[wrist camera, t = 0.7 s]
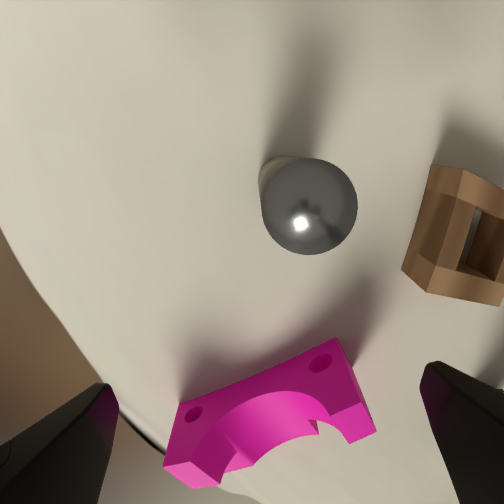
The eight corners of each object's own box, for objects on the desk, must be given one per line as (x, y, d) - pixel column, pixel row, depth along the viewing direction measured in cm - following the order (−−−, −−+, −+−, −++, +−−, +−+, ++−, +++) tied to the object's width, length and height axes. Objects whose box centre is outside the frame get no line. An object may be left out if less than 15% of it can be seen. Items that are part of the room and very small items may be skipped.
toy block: (217, 440, 27) (210, 501, 20) (179, 402, 26) (162, 467, 19) (360, 384, 25) (385, 447, 18) (335, 336, 23) (360, 401, 16)
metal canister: (313, 162, 19) (367, 173, 10) (301, 210, 20) (342, 263, 11) (264, 150, 19) (273, 147, 10) (253, 199, 20) (252, 243, 10)
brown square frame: (500, 197, 19) (532, 206, 16) (472, 286, 22) (498, 306, 18) (431, 164, 19) (463, 169, 15) (401, 269, 21) (425, 292, 18)
